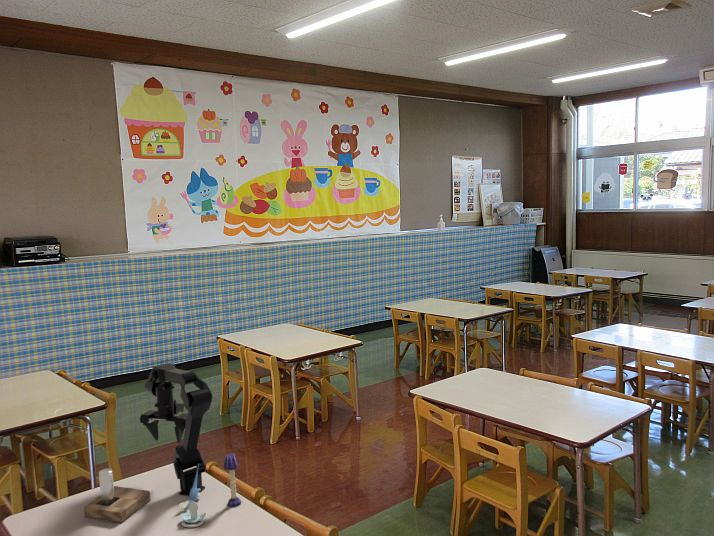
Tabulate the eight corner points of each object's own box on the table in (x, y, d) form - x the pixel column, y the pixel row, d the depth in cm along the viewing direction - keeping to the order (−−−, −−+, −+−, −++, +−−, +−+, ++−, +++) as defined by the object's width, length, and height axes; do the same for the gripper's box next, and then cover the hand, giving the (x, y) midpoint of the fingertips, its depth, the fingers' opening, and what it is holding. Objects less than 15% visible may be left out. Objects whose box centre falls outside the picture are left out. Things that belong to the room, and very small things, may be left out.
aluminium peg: (117, 506, 191) (114, 468, 190) (112, 513, 187) (108, 474, 186) (105, 506, 191) (102, 468, 190) (99, 513, 188) (96, 474, 186)
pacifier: (201, 529, 178) (208, 517, 184) (200, 509, 177) (206, 499, 183) (177, 529, 178) (185, 517, 184) (176, 509, 178) (183, 499, 183)
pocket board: (150, 500, 195) (149, 490, 195) (121, 523, 182) (120, 512, 182) (115, 495, 199) (114, 486, 199) (84, 517, 186) (83, 506, 186)
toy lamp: (237, 508, 189) (234, 458, 187) (223, 507, 190) (220, 457, 188) (243, 500, 193) (240, 451, 191) (229, 499, 194) (226, 451, 192)
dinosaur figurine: (190, 512, 194) (178, 510, 186) (198, 465, 201) (186, 461, 192) (199, 513, 194) (186, 511, 185) (206, 465, 200) (195, 461, 192)
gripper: (200, 393, 214) (203, 435, 216) (156, 390, 220) (159, 430, 221) (182, 404, 203) (185, 447, 205) (137, 400, 209) (140, 442, 211)
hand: (168, 441), depth 211 cm, fingers open, 9 cm apart
